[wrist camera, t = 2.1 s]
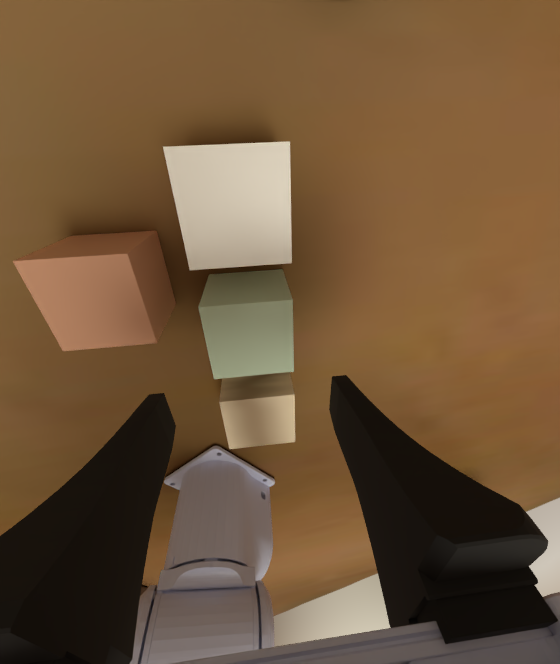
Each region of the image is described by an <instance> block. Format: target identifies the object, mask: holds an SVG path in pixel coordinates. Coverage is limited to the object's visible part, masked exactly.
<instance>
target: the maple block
mask: <svg viewBox="0 0 560 664" xmlns="http://www.w3.org/2000/svg"><path fill="white" fill-rule="evenodd" d="M219 403H220V408H221V412H222V417H223V421H224V426H225V431H226V435H227V440H228V444H229V449H236V448H245V447H254V446H262V445H271V444H280V443H289V442H295V398H294V390H293V385H292V380H291V375H290V372H284V373H274V374H263V375H253V376H242V377H232V378H222V383H221V392H220V401H219Z"/></svg>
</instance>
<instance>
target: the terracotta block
mask: <svg viewBox="0 0 560 664" xmlns="http://www.w3.org/2000/svg"><path fill="white" fill-rule="evenodd" d="M13 262H14V264H15V266H16V268H17V270H18V271H19V273H20V275H21V277H22V279H23V280H24V282H25V284H26V286H27V288H28V289H29V291H30V293H31V295H32V297H33V298H34V300H35V302H36V304H37V305H38V307H39V309H40V311H41V313H42V314H43V316H44V318H45V320H46V322H47V323H48V325H49V327H50V329H51V331H52V332H53V334H54V336H55V338H56V339H57V341H58V343H59V345H60V347H61V348H62V350H63V351H72V350H83V349H95V348H107V347H118V346H130V345H141V344H153V343H157V342H158V340H159V338H160V336H161V334H162V332H163V330H164V328H165V326H166V324H167V322H168V320H169V318H170V316H171V314H172V312H173V309H174V307H175V305H176V302H175V298H174V294H173V290H172V287H171V283H170V279H169V275H168V271H167V268H166V264H165V260H164V256H163V253H162V249H161V245H160V241H159V237H158V234H157V231H141V232H124V233H108V234H91V235H74V236H69V237H67V238H65V239H62V240H60V241H58V242H56V243H53V244H51V245H49V246H46V247H44V248H42V249H39V250H37V251H35V252H32V253H30V254H28V255H26V256H23V257H21V258H19V259H16V260H14V261H13Z"/></svg>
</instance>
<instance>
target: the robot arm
mask: <svg viewBox="0 0 560 664" xmlns="http://www.w3.org/2000/svg"><path fill="white" fill-rule="evenodd" d="M329 410H330V414H331V418H332V422H333V426H334V430H335V433H336V436H337V439H338V441H339V444H340V447H341V449H342V452H343V455H344V457H345V460H346V462H347V465H348V468H349V470H350V473H351V476H352V478H353V481H354V484H355V487H356V490H357V494H358V497H359V501H360V504H361V508H362V512H363V515H364V519H365V523H366V527H367V531H368V534H369V538H370V542H371V546H372V550H373V554H374V558H375V562H376V567H377V571H378V575H379V579H380V584H381V588H382V592H383V596H384V601H385V605H386V610H387V615H388V619H389V624H390V627H391V628H389V629H382V630H376V631H370V632H364V633H357V634H351V635H345V636H339V637H332V638H326V639H320V640H314V641H307V642H302V643H295V644H289V645H283V646H277V647H274V619H273V609H272V602H271V597H270V594H269V591H268V590H267V588H266V587H265V585H264V583H263V582H262V581H261V579H262V578H263V577H264V575H265V573H266V572H267V569H268V567H269V564H270V561H271V557H272V551H273V534H272V520H271V505H270V491H269V487H271V486H272V485H274V484H275V480H274V479H273V478H272V477H270V476H268V475H267V474H265V473H263V472H261V471H260V470H258V469H256V468H255V467H253V466H251V465H250V464H248V463H246V462H245V461H243V460H241V459H239V458H238V457H236V456H234V455H233V454H231V453H229V452H228V451H226V450H224V449H223V448H221V447H219V446H213V447H211V448H210V449H208V450H207V451H205V452H204V453H202V454H201V455H199V456H198V457H196V458H195V459H193V460H192V461H190V462H189V463H187V464H186V465H184V466H183V467H181V468H180V469H178V470H176V471H175V472H173V473H172V474H170V475H169V476H167V477H166V478H165V480H164V476H165V473H166V469H167V466H168V462H169V459H170V455H171V451H172V447H173V441H174V434H175V427H176V425H175V422H174V420H173V417H172V414H171V411H170V409H169V406H168V403H167V400H166V397H165V395H164V393H160V394H150V395H148V397H147V398H146V399H145V400H144V401H143V402H142V403H141V405H140V406H139V407H138V408H137V409H136V410H135V412H134V413H133V414H132V415H131V416H130V417H129V419H128V420H127V421H126V422H125V423H124V424H123V426H122V427H121V428H120V429H119V430H118V431H117V432H116V433H115V435H114V436H113V437H112V438H111V439H110V440H109V441H108V442H107V443H106V444H105V445H104V447H103V448H102V449H101V450H100V451H99V452H98V453H97V454H96V455H95V456H94V457H93V458H92V459H91V460H90V461H89V462H88V463H87V464H86V465H85V466H84V467H83V468H82V469H81V470H80V471H79V472H78V473H77V474H75V475H74V476H73V477H72V478H71V479H70V480H69V481H68V482H67V483H66V484H65V485H63V486H62V487H61V488H60V489H59V490H58V491H56V492H55V493H54V494H53V495H52V496H50V497H49V498H48V499H47V500H46V501H44V502H43V503H42V504H41V505H40V506H38V507H37V508H36V509H35V510H34V511H32V512H31V513H30V514H29V515H27V516H26V517H25V518H24V519H22V520H21V521H20V522H18V523H17V524H16V525H14V526H13V527H12V528H11V529H9V530H8V531H7V532H5V533H4V534H2V535H1V536H0V664H560V592H558V593H554V594H550V595H547V596H545V597H542V596H541V594H540V593H539V591H538V590H537V588H536V587H535V586H534V585H535V584H537V583H538V580H537V578H536V577H535V575H534V574H533V572H532V571H531V569H530V568H529V565H531V564H532V563H533V562H534V561H535V560H536V559H537V558H538V557H539V556H541V555H542V554H543V553H544V551H545V550H546V549H547V546H548V540H547V539H546V538H545V536H544V535H543V533H542V532H541V531H540V529H539V528H538V527H537V526H536V524H535V523H534V522H533V520H532V519H531V518H530V517H529V515H528V514H527V513H526V512H525V511H524V510H523V509H522V507H521V506H520V505H519V504H517V503H515V502H513V501H511V500H509V499H507V498H506V497H504V496H502V495H500V494H498V493H496V492H494V491H492V490H491V489H489V488H487V487H485V486H483V485H481V484H480V483H478V482H476V481H474V480H473V479H471V478H469V477H468V476H466V475H464V474H463V473H461V472H459V471H458V470H456V469H455V468H453V467H451V466H450V465H448V464H447V463H445V462H444V461H442V460H441V459H439V458H438V457H436V456H435V455H433V454H432V453H430V452H429V451H428V450H426V449H425V448H424V447H422V446H421V445H419V444H418V443H417V442H416V441H414V440H413V439H412V438H410V437H409V436H408V435H407V434H406V433H404V432H403V431H402V430H401V429H400V428H398V427H397V426H396V425H395V424H394V423H393V422H392V421H390V420H389V419H388V418H387V417H386V416H385V415H384V414H383V413H382V412H381V411H380V410H379V409H378V408H377V407H376V406H375V405H374V404H373V403H372V402H371V401H370V400H369V399H368V398H367V397H366V396H365V395H364V394H363V393H362V392H361V391H360V390H359V389H358V388H357V387H356V386H355V384H354V383H353V382H352V381H351V380H350V379H349V378H348V377H347V376H346V375H343V376H333V377H332V384H331V396H330V408H329ZM163 480H164V483H165V484H166V485H169V486H171V487H173V488H175V489H178V490H180V492H179V497H178V502H177V507H176V512H175V516H174V521H173V526H172V531H171V536H170V541H169V546H168V551H167V556H166V561H165V566H164V570H161V572H160V577H159V582H158V587H157V585H150V586H149V587H148V588H147V590H146V591H145V592H144V593H143V594H142V595H141V596H140V594H141V587H142V580H143V573H144V567H145V561H146V555H147V549H148V543H149V538H150V532H151V527H152V522H153V517H154V512H155V508H156V504H157V501H158V497H159V494H160V490H161V487H162V483H163Z"/></svg>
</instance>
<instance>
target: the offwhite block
mask: <svg viewBox="0 0 560 664" xmlns="http://www.w3.org/2000/svg"><path fill="white" fill-rule="evenodd" d="M163 149H164V154H165V158H166V163H167V168H168V172H169V177H170V181H171V186H172V191H173V195H174V200H175V204H176V209H177V214H178V218H179V223H180V227H181V232H182V237H183V241H184V246H185V250H186V255H187V259H188V264H189V269H190V270H201V269H216V268H230V267H244V266H258V265H272V264H287V263H292V241H291V179H290V142H266V143H242V144H218V145H194V146H169V147H163Z"/></svg>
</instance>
